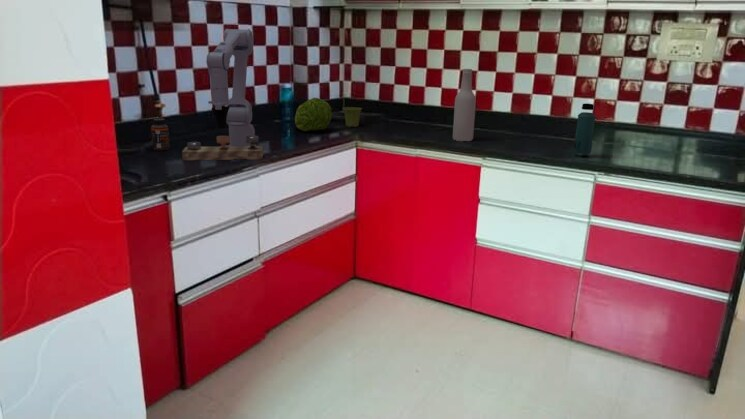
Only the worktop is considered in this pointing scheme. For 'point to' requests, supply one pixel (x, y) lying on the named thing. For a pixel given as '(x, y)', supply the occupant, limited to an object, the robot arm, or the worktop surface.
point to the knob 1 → (194, 145)
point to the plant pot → (352, 116)
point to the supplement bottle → (160, 135)
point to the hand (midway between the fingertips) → (221, 128)
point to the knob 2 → (252, 140)
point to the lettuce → (313, 115)
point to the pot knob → (223, 140)
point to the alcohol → (464, 109)
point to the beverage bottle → (584, 130)
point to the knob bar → (223, 153)
